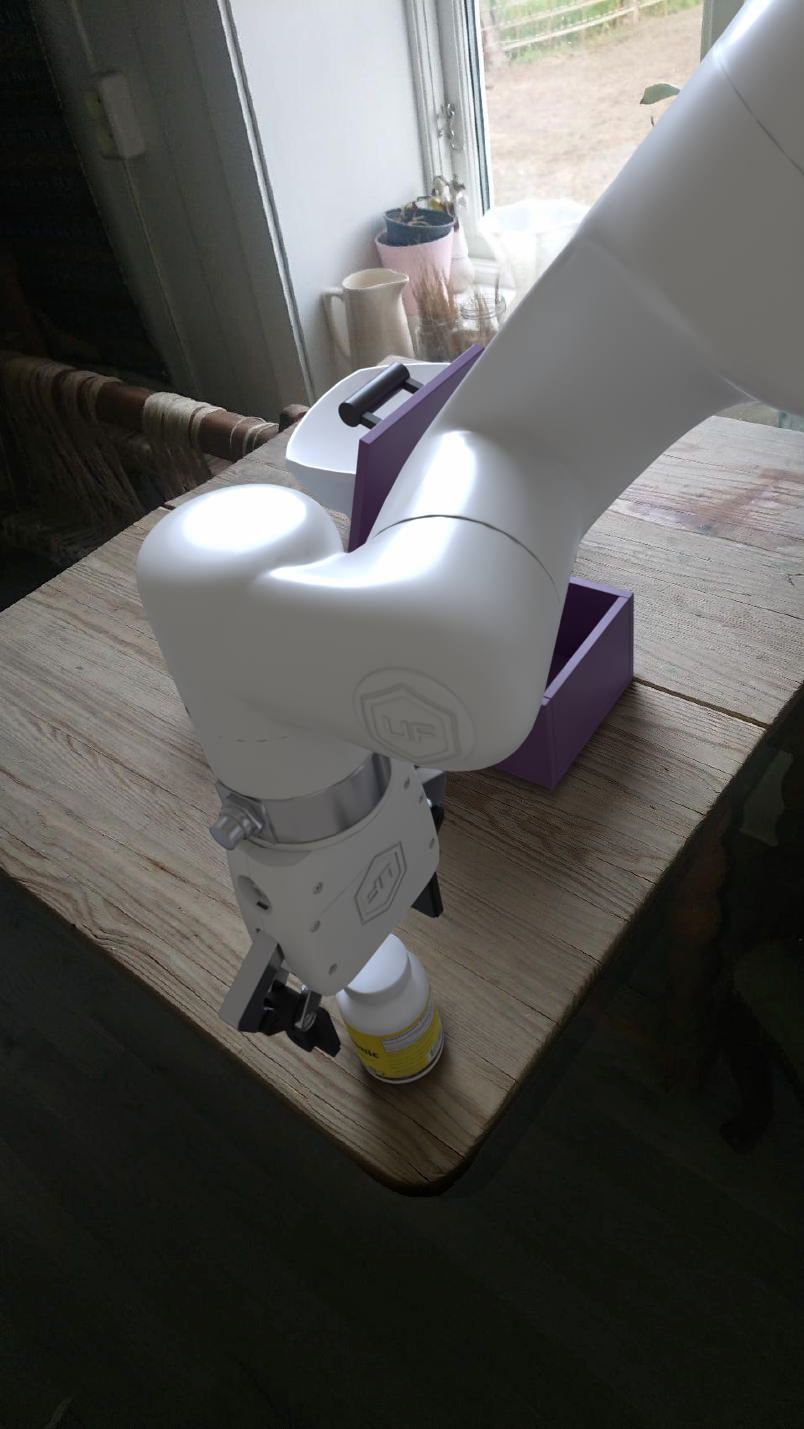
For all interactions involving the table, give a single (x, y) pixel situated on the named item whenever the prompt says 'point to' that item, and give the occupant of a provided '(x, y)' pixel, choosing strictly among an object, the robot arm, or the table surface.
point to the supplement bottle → (393, 1015)
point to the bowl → (340, 438)
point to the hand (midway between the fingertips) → (369, 969)
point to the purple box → (578, 680)
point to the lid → (393, 432)
